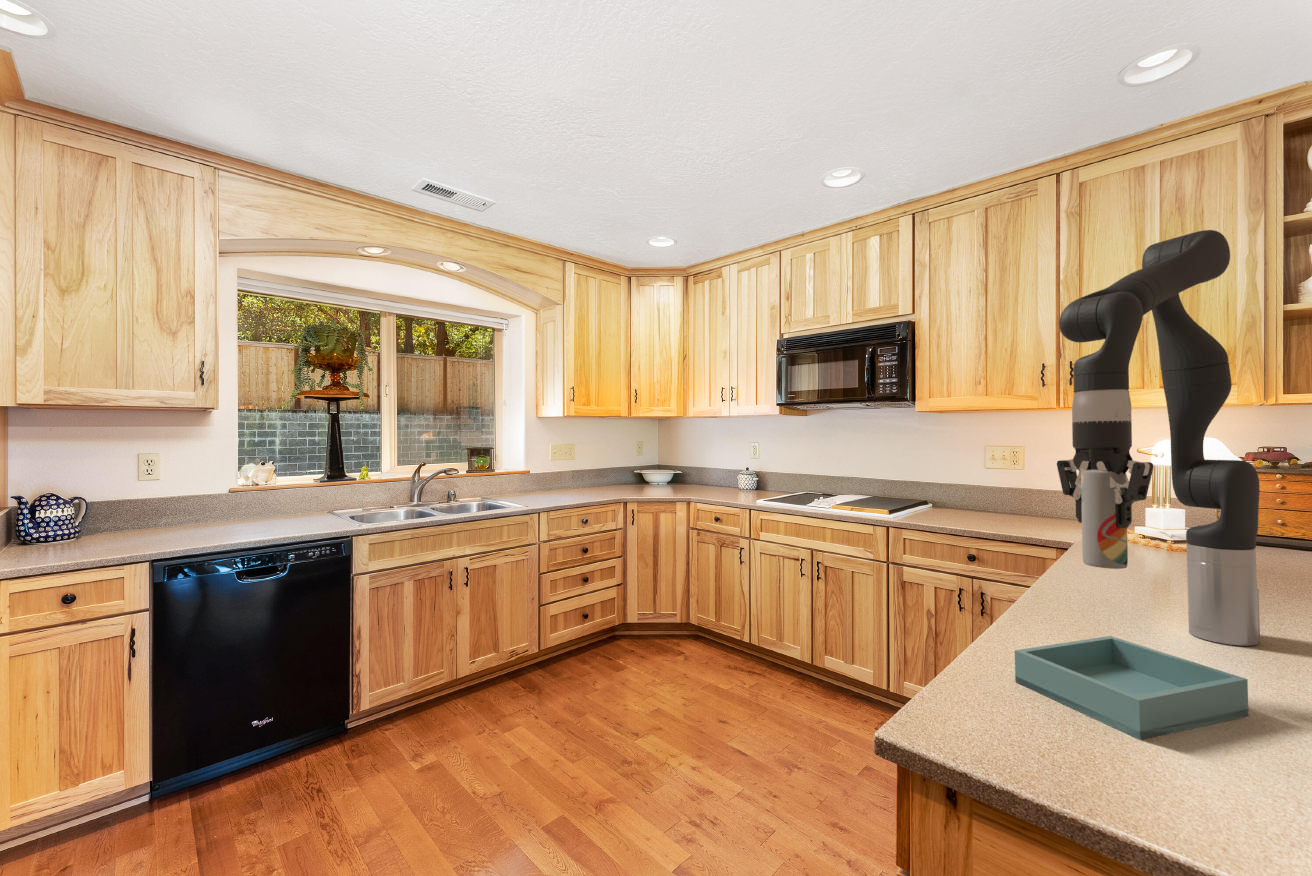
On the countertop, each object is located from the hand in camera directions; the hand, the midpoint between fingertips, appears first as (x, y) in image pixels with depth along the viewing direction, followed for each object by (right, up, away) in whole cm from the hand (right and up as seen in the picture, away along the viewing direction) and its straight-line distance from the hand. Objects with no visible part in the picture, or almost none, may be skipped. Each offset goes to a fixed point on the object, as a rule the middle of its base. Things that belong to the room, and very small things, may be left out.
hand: (1102, 524), depth 91 cm
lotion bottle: (0, -7, 0) cm, 7 cm away
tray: (-3, -24, -8) cm, 26 cm away
